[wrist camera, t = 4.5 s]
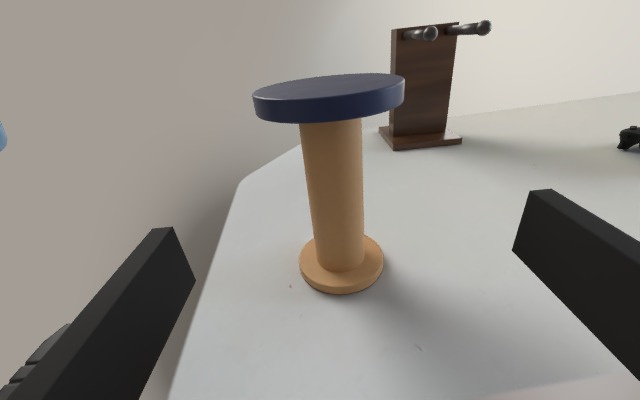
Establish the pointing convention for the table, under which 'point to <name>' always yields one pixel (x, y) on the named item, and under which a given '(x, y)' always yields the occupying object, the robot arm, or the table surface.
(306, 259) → the round pedestal table
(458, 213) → the table surface
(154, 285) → the robot arm
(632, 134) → the game controller
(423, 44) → the wooden stand
